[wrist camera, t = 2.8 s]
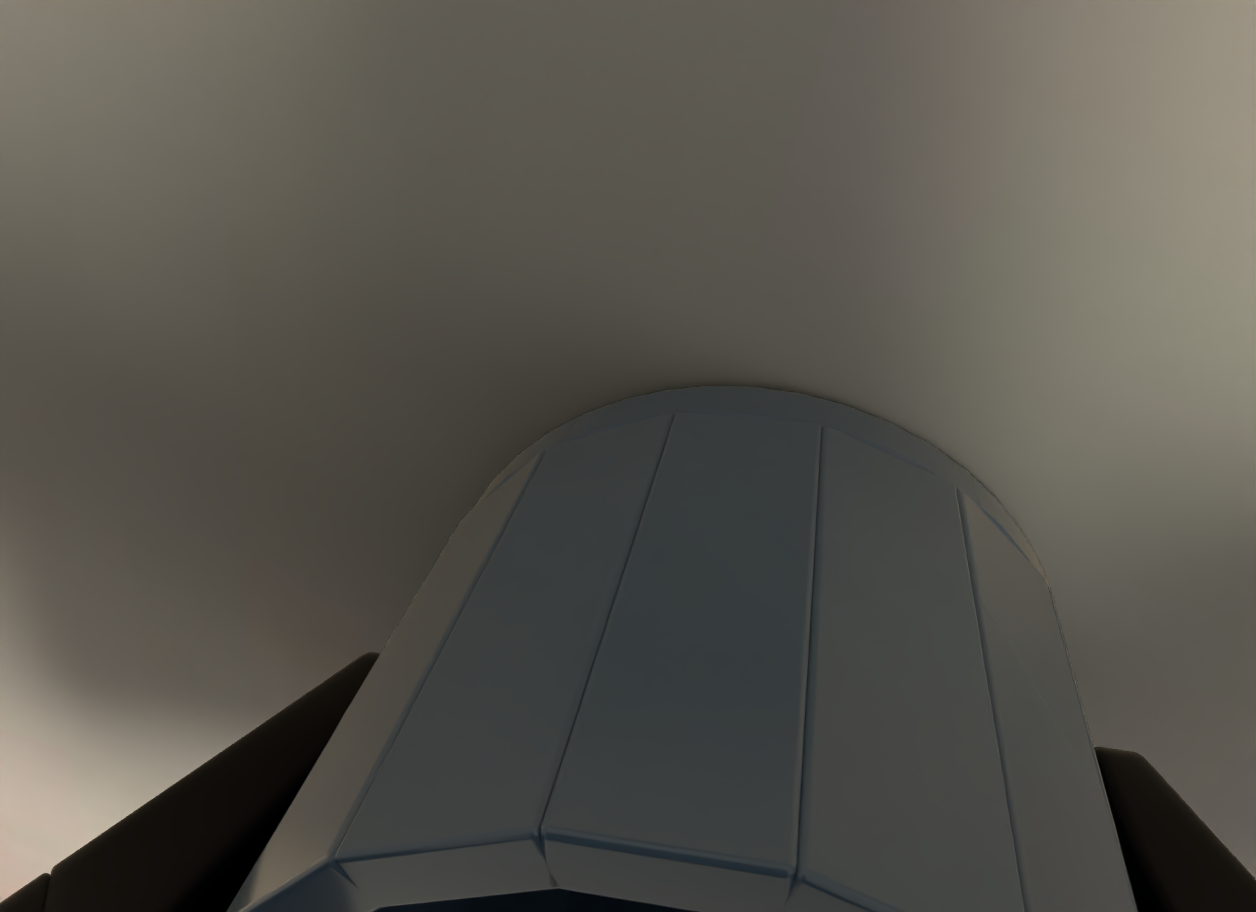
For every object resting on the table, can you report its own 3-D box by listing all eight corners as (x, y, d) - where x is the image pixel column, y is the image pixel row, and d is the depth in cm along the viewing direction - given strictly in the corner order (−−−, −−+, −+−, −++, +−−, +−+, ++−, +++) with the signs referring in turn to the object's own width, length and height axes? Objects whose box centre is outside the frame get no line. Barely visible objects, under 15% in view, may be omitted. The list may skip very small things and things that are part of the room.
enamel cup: (996, 890, 12) (1076, 1479, 7) (477, 809, 13) (288, 1282, 8) (1131, 413, 8) (1408, 971, 4) (421, 357, 9) (70, 757, 5)
